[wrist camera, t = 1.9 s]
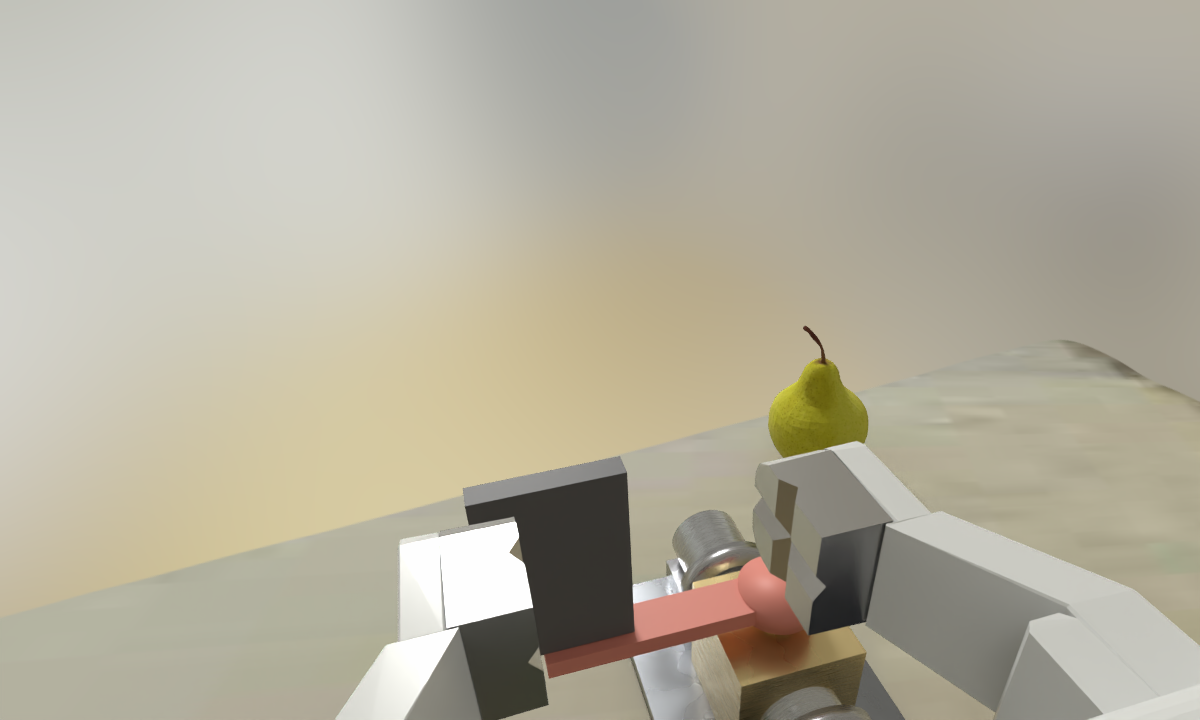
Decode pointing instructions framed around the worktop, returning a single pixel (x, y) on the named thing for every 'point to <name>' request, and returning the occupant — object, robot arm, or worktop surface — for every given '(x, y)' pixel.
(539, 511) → the lever
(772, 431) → the fruit
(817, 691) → the valve
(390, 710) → the robot arm
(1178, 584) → the worktop surface
